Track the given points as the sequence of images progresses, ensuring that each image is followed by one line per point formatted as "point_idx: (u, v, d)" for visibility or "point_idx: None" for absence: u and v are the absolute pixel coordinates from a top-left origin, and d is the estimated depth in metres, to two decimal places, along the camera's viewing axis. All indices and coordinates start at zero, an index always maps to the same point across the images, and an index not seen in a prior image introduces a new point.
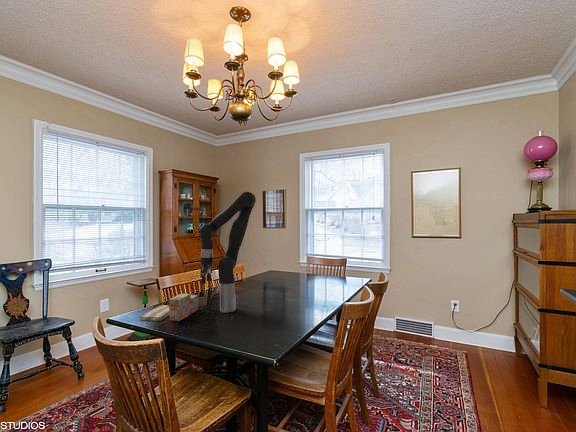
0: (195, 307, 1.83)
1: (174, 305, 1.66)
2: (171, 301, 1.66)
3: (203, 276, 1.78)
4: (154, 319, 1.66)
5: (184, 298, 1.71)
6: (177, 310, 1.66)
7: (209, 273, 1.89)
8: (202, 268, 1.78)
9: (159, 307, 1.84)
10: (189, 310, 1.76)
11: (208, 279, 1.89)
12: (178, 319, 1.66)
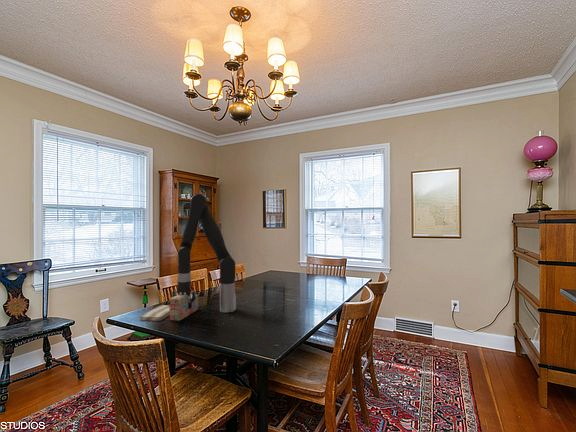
0: (195, 307, 1.83)
1: (174, 304, 1.66)
2: (171, 301, 1.67)
3: None
4: (154, 319, 1.66)
5: (184, 298, 1.71)
6: (177, 310, 1.66)
7: None
8: (195, 292, 1.75)
9: (159, 307, 1.84)
10: (189, 310, 1.76)
11: None
12: (178, 319, 1.66)
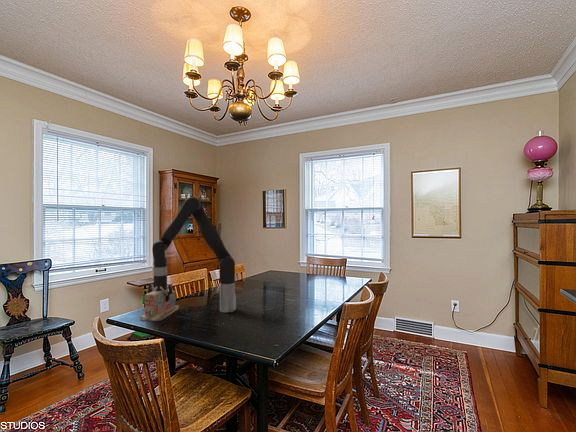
0: (172, 303, 1.85)
1: (149, 300, 1.68)
2: (146, 296, 1.68)
3: (172, 292, 1.78)
4: (154, 319, 1.66)
5: (160, 294, 1.73)
6: (152, 305, 1.67)
7: None
8: (171, 285, 1.77)
9: None
10: (165, 306, 1.78)
11: None
12: (153, 314, 1.67)
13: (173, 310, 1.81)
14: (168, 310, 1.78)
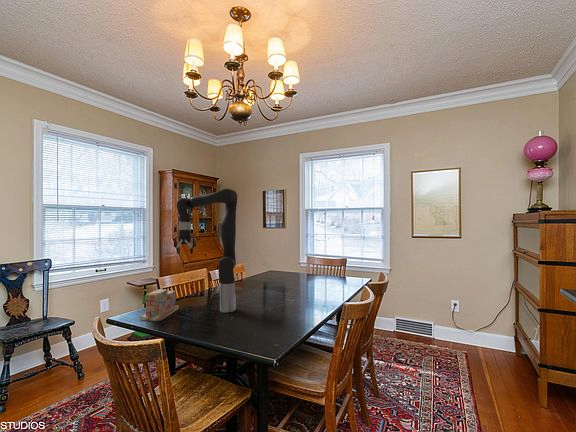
0: (172, 303, 1.85)
1: (150, 300, 1.68)
2: (147, 296, 1.68)
3: None
4: (154, 319, 1.66)
5: (161, 293, 1.73)
6: (153, 305, 1.68)
7: (179, 246, 1.94)
8: (194, 239, 1.92)
9: None
10: (166, 305, 1.78)
11: (179, 252, 1.94)
12: (154, 314, 1.68)
13: (173, 310, 1.81)
14: (168, 310, 1.78)
